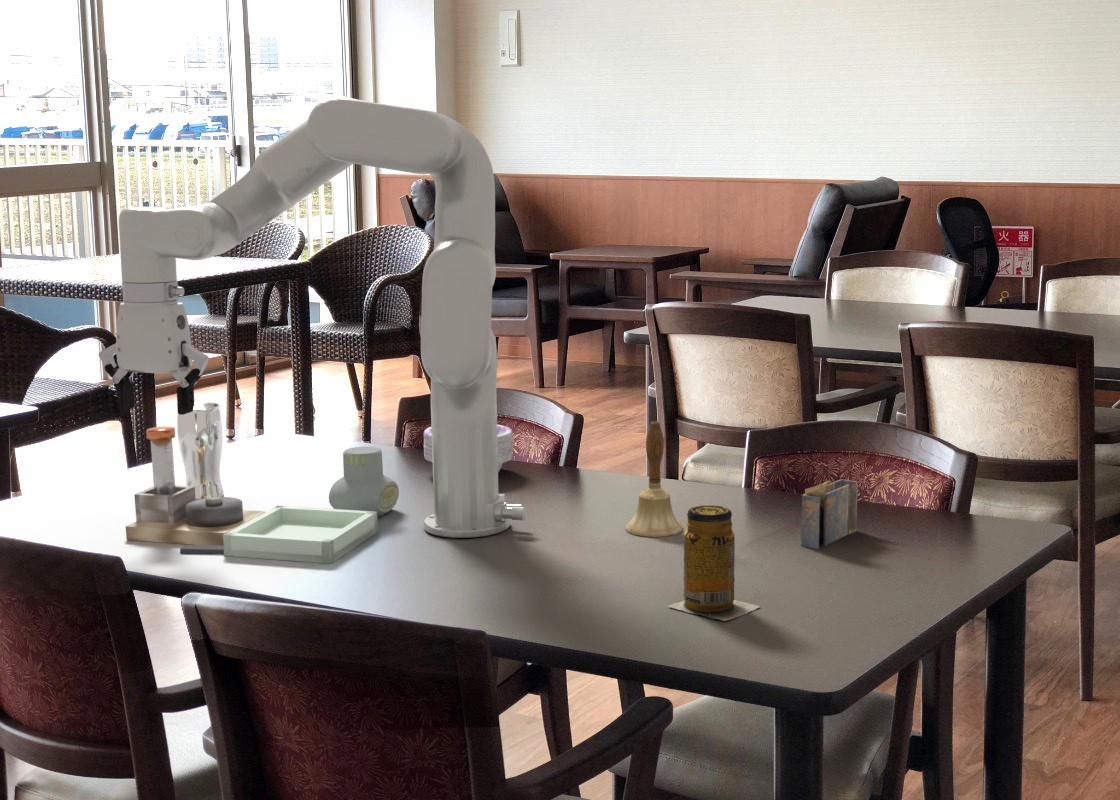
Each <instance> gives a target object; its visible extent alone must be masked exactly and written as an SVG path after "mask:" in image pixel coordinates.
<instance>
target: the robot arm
mask: <svg viewBox="0 0 1120 800" xmlns="http://www.w3.org/2000/svg"><path fill="white" fill-rule="evenodd" d="M352 165H359V166H368V167H372V168H379V169H385V170H386V169H387V170H392V171H393V170H394V171H397V172H398V171H399V172H404V173H412V174H415V175H430V176H431V178H432V180H433V182H434V186H435V187H434V188H435V200H434V201H435V203H434V220H435V221H434V222H435V224H434V243H433V251H431V253H430V254H429V256H428V257H427V259H426V261H425V264H424V266H423V272H422V273H423V274H422V282H421V283H422V284H421V317H420V319H421V322H420V325H421V326H420V327H421V328H420V330H421V331H420V357H421V358H420V359H421V363H422V367H423V369H424V370H425V372H426V374H427V375H428V377H429V378H430V416H431V417H430V419H431V426H430V427H431V432H432V462H431V463H432V487H433V513H432V514H430V515H428V516H427V517H426V518H425V519H424V520H423V529H424V530H425V531H426V532H427V533H429V534H431V535H435V536H439V537H443V538H454V539H463V538H464V539H465V538H467V539H468V538H479V537H488V536H493V535H496V534H499V533H502V532H504V531H506V530H508V528H509V527H510V525H511V521H510V520H512V521H525V520H526V517H527V510H526V506H524V507H523V504H519V503H516V504H515V503H513V504H512V503H510V504H509V503H508V502H507V501H506V497H505V495H506V494H505V493H499V472H498V455H497V424H498V412H497V411H498V407H497V405H498V404H497V403H498V402H497V399H498V398H497V397H498V396H497V394H498V393H497V373H498V371H497V368H498V366H497V365H498V361H497V359H498V350H497V349H498V348H497V341H496V340H497V339H496V337H495V333H494V332H493V330H492V305H493V304H492V301H493V287H494V285H495V280H496V277H497V276H496V275H497V266H496V253H495V252H496V251H495V247H496V246H495V245H496V186H495V185H496V184H495V183H496V182H495V176H494V175H495V174H494V170H493V166H492V163H491V160H490V157H489V155H488V153H487V151H486V149H485V147H484V146H483V144H482V142H481V141H480V140H479V139H478V138H477V136H476V135H475V134H473V133H472V132H471V131H470V130H469V129H468V128H466V127H465V126H464V125H462V124H461V123H459V122H458V121H457V120H455V119H453V118H451V117H449V116H447V115H445V114H443V113H441V112H440V113H439V112H437V111H433V110H432V111H430V110H426V109H425V110H424V109H420V108H412V107H404V106H398V105H391V104H386V103H378V102H371V101H366V100H362V99H357V98H352V97H349V96H344V95H334V96H330V97H327V98H325V99H323V100H321V101H320V102H318V103H317V104H316V105H315V106H314V107H313V109H312V110H311V112H310V113H309V116H308V119H306V120H304V121H303V123H301V124H300V125H297V127H295V128H293V130H291V131H289V132H287V134H285V135H284V136H282V137H281V138H278V140H276V141H275V142H273V143H272V144H271V145H269V146H267V147H266V148H264V149H263V150H262V151H261V152H260V153H259V154H258V155H257V157H256V158H255V160H254V162H253V165H252V166H251V168H250V169H249V170H248V171H247V172H246V173H245V175H243V176H242V177H241V178H240V179H239V180H237V181H236V182H235V183H233V184H232V185H231V186H230V187H228V188H227V189H225V190H224V191H222V192H221V193H220V194H218V195H216V196H215V197H214V198H211V200H210V201H208V202H206V203H204V204H198V205H194V206H192V205H191V206H186V207H181V208H171V209H169V208H166V207H162V206H131V207H126V208H123V209H122V210H121V211H120V213H119V215H118V233H119V235H118V236H119V248H120V249H119V250H120V251H119V253H120V268H121V288H122V302H121V303H120V304H119V307H118V312H117V313H118V314H117V321H116V332H115V333H116V335H115V336H116V337H115V343H114V344H112V345H110V346H108V347H106V348H105V349H102V350H101V351H99V352H98V356H99V358H100V361H101V362H102V364H103V366H104V370H105V372H106V373H107V374H108V375H109V376H110V377H111V381H112V383H114V384H116V385H115V386H116V399H117V401H116V402H117V404H118V411H119V412H125V411H128V410H132V409H134V408H135V407H136V402H135V384H134V380H131V378H132V377H133V375H134V373H144V374H145V373H146V374H148V373H149V374H163V375H164V374H168V375H169V374H171V375H172V376H173V378H174V379H175V381H177V383H178V385H179V386H178V387H176V401H177V402H176V404H177V406H176V407H177V408H178V409H177V408H176V409H177V415H178V414H180V415H184V414H187V413H190V412H192V411H193V407H194V403H195V390H194V389H195V387H194V385H196V384H197V383H198V381H199V380H200V378H201V377H202V376H203V375H204V373H205V370H206V368H207V365H208V363H209V360H210V358H209V356H208V355H207V354H205V353H203V352H202V351H200V350H199V349H197V348H195V347H194V346H192V339H191V338H192V337H191V331H190V326H189V319H188V316H187V310H186V308H185V305H184V303H183V302H179V301H178V300H179V297H183V296H184V295H185V287H183V286H179V285H178V284H179V283H178V281H177V280H178V279H177V278H178V277H177V275H178V274H177V259H182V260H188V261H189V260H190V261H202V260H206V259H209V258H213V257H216V256H220V255H223V254H225V253H227V252H228V251H230V250H232V249H234V248H235V247H236V246H237V245H239V244H241V243H242V242H243V241H245V240H247V239H248V238H249V237H251V236H252V235H253V234H255V233H257V232H258V231H260V230H262V229H263V228H264V227H265V226H266V225H268V224H269V223H270V222H272V221H273V220H274V219H277V218H278V217H279V216H280V215H282V214H283V213H285V212H287V211H289V210H290V209H291V208H293V207H294V206H295V205H296V204H297V203H299V202H300V201H301V200H303V199H304V198H306V197H307V196H309V195H310V194H312V193H313V192H314V191H316V190H318V188H320V187H321V186H323V185H324V184H325V183H328V182H329V181H330V180H331V179H333V178H335V177H336V176H337V175H339V174H340V173H342V172H344V171H345V170H347V169H349V167H351V166H352ZM115 355H116V362H117V363H116V362H115V358H114V356H115ZM193 362H194V365H193ZM192 366H193V368H192ZM190 368H192V369H190Z"/></svg>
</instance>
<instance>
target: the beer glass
mask: <svg viewBox="0 0 1120 800" xmlns="http://www.w3.org/2000/svg"><path fill="white" fill-rule="evenodd" d="M176 409H177V410H178V408H176ZM176 416H177V423H176V426H177V439H178V446H179V452H180V454H181V458H182V463H183V466H184V471H185V476H186V485H185V486H193V487H195V498H196V500H200V499H205V498H209V497H224V494H225V493H224V489H223V486H222V482H221V476H220V475H221V473H220V470H221V459H222V452H223V440H224V439H223V421H222V415H221V408H220V404H219V403H217V402H209V401H208V402H207V401H205V402H194V407H193V411H192V412H190V413H187V414H184V415H180V414H178V413H177V415H176Z"/></svg>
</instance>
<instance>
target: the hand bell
mask: <svg viewBox="0 0 1120 800" xmlns="http://www.w3.org/2000/svg"><path fill="white" fill-rule="evenodd" d="M663 434H664V433H663V430H662V428H661V424H660V421H656V420H655V421H654V420H653V421H651V422H650V425H649V428H648V430H647V433H646V436H645V437H646V438H645V451H646V456H647V457H646V458H647V459H648V464H649V474H648V477H649V478H648V488H646V489H644V490H643V491H641V492H640V493H639V495H638V503H637V507H636V510H635V514H634V516H633V517H632V518H631V520H630V521H628V523H627V524H626V526H625V531H626V532H628V534H629V533H630V534H632V535H635V536H640V537H647V538H649V537H650V538H664V537H670V536H671V537H672V536H675V535H679V534H681V533H682V532H683V531H684V528H683V526H682V524H681V523H680V522H679V520H677V518H676V516H675V514H674V512H673V509H672V504H671V503H672V501H671V495H670V493H669V492H668V491H666V490H664V489H663V488H662V487H661V486H662V485H661V480H662V479H661V464H662V463H661V462H662V458H663V455H664V448H665V439H664V435H663Z"/></svg>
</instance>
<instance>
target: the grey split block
mask: <svg viewBox="0 0 1120 800" xmlns="http://www.w3.org/2000/svg"><path fill="white" fill-rule="evenodd" d="M857 516H858V481H855V480H849V479H843V478H842V479H838V480H836V481H833V482H831V480H830V479H828V480H827V481H824V482H823V483H820V484H817V485H815V486H812V487H808V488H804V493H803V494H802V495H801V519H800V520H801V522H800V523H801V526H800V529H801V531H800V538H801V539H800V546H801V547H804V548H809V549H810V548H811V549H816V550H819V549H820V539H821V538H823V541H822V542H823V546H827V545H828V544H829V545H830V544H831V543H833V542H835V541H838V540H839V539H842V538H844V537H846V536H849V535H851V534H853V533H854V532H857V523H858V522H857V518H858V517H857Z"/></svg>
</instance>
